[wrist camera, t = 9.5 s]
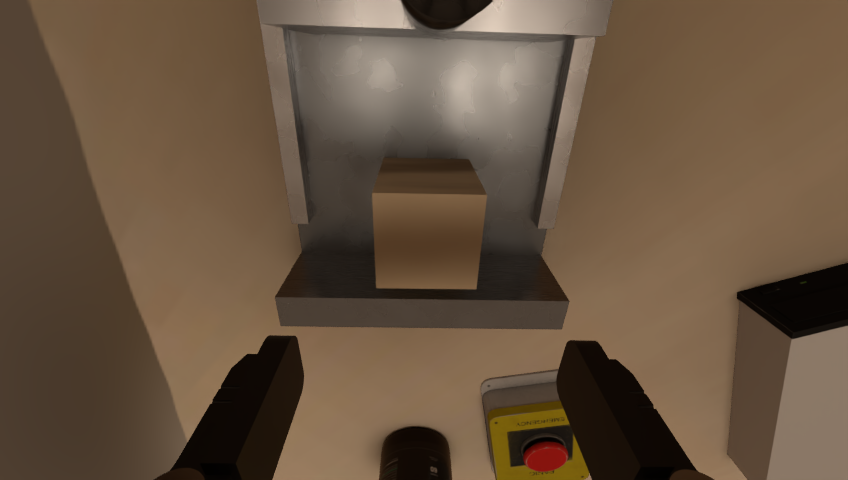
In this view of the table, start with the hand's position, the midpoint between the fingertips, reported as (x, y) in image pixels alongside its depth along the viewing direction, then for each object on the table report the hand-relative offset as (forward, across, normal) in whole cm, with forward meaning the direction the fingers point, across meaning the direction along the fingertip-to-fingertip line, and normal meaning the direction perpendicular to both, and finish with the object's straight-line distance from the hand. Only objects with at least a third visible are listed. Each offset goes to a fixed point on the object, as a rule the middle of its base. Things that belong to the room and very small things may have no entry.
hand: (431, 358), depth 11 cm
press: (+14, 0, -4) cm, 15 cm away
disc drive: (+15, -37, +15) cm, 42 cm away
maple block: (+13, 0, 0) cm, 13 cm away
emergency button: (+15, -12, +24) cm, 30 cm away
